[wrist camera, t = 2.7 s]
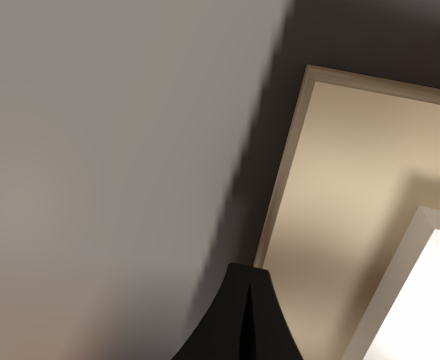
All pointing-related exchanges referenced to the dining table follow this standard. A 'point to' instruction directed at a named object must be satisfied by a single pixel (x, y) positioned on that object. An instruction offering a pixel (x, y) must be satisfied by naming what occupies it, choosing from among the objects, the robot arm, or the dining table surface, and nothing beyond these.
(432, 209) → the card
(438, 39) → the dining table surface
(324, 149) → the board
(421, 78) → the dining table surface
